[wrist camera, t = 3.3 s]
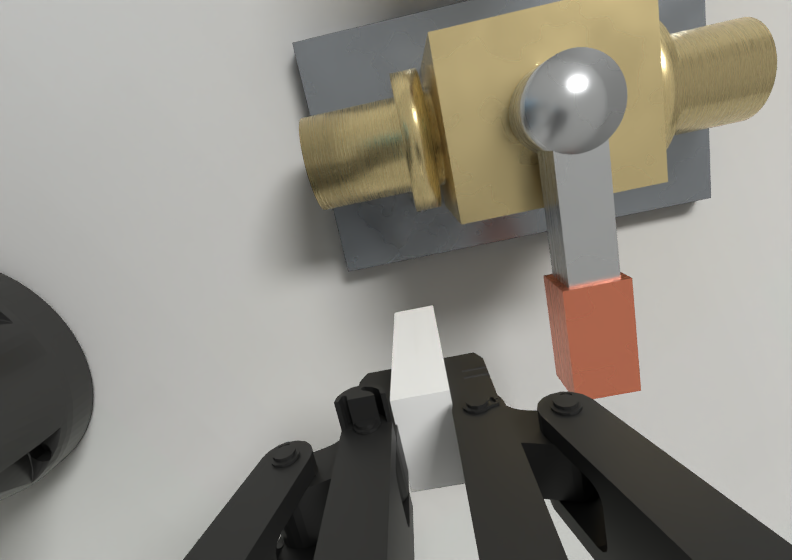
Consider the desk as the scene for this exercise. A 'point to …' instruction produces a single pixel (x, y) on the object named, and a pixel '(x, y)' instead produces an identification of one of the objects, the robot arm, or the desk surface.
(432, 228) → the valve block
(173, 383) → the desk surface
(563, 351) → the lever
